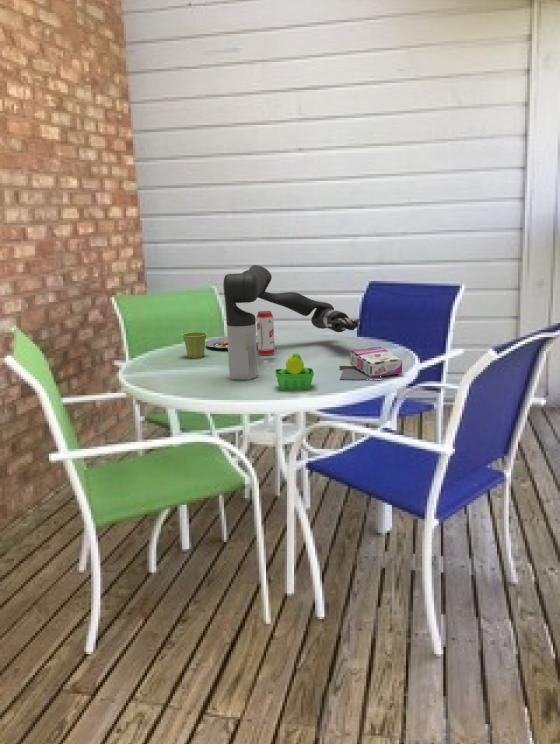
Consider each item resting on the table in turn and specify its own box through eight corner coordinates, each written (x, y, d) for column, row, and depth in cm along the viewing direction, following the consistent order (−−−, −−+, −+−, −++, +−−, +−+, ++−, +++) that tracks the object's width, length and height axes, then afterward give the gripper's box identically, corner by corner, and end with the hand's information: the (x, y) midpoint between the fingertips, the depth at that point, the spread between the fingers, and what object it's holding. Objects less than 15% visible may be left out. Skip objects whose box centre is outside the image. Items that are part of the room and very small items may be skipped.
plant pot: (205, 353, 251) (204, 331, 249) (210, 357, 242) (209, 334, 240) (181, 355, 248) (180, 333, 246) (185, 360, 239) (184, 337, 237)
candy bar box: (349, 364, 217) (370, 378, 202) (349, 350, 216) (369, 363, 201) (380, 360, 220) (402, 373, 205) (380, 346, 218) (402, 358, 203)
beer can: (275, 352, 247) (273, 310, 244) (273, 355, 241) (272, 312, 238) (259, 352, 248) (257, 310, 244) (257, 356, 242) (255, 313, 238)
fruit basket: (312, 383, 200) (311, 347, 197) (315, 391, 191) (314, 353, 189) (275, 385, 199) (274, 349, 197) (276, 392, 191) (274, 355, 188)
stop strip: (388, 370, 213) (388, 366, 212) (339, 369, 216) (339, 366, 215) (388, 369, 213) (388, 366, 213) (339, 369, 217) (339, 365, 216)
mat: (382, 380, 200) (382, 379, 200) (339, 379, 203) (339, 378, 203) (383, 370, 213) (383, 369, 213) (344, 369, 216) (344, 368, 215)
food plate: (260, 337, 278) (260, 329, 277) (273, 348, 256) (272, 339, 255) (202, 344, 272) (201, 335, 271) (210, 355, 250) (209, 346, 250)
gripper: (352, 329, 246) (370, 336, 230) (319, 332, 243) (334, 339, 227) (352, 309, 245) (369, 315, 228) (318, 312, 242) (334, 317, 225)
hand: (352, 327), depth 227 cm, fingers closed
